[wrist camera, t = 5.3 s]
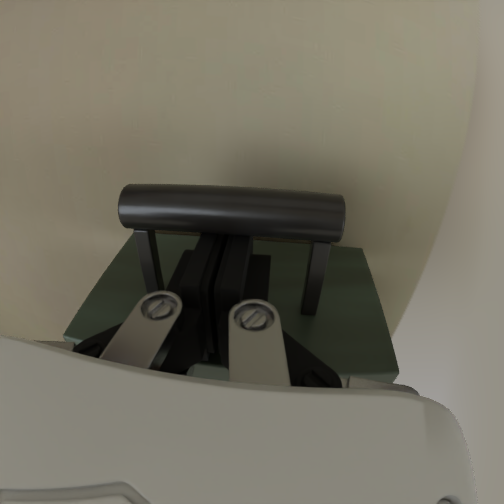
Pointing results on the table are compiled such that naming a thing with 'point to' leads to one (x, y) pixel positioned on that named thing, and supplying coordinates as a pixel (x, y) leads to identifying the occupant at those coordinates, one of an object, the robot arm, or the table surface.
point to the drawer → (253, 224)
